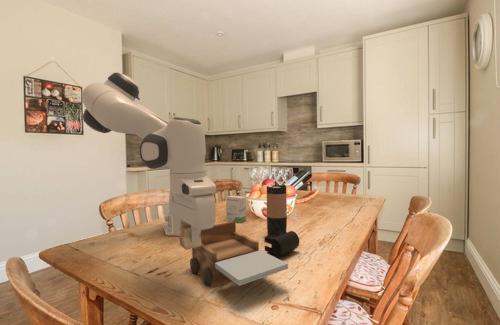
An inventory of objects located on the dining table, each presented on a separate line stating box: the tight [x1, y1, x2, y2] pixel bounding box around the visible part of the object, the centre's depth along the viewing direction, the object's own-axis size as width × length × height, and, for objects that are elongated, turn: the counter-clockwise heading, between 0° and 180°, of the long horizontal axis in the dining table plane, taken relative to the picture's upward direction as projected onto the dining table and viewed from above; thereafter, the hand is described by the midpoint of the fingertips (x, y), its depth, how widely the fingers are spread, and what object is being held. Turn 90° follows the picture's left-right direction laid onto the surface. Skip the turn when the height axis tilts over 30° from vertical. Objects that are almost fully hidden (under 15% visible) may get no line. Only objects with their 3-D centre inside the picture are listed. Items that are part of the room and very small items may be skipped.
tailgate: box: [215, 249, 289, 287], centre depth 65 cm, size 2×14×11 cm
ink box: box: [225, 195, 247, 224], centre depth 129 cm, size 9×5×12 cm, turn 58°
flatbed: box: [189, 221, 260, 288], centre depth 76 cm, size 13×16×12 cm
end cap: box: [264, 230, 300, 259], centre depth 88 cm, size 10×7×7 cm
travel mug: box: [266, 184, 288, 236], centre depth 103 cm, size 8×8×20 cm
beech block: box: [178, 224, 201, 250], centre depth 67 cm, size 4×4×5 cm
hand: (190, 238), depth 67 cm, fingers closed on beech block, 4 cm apart
